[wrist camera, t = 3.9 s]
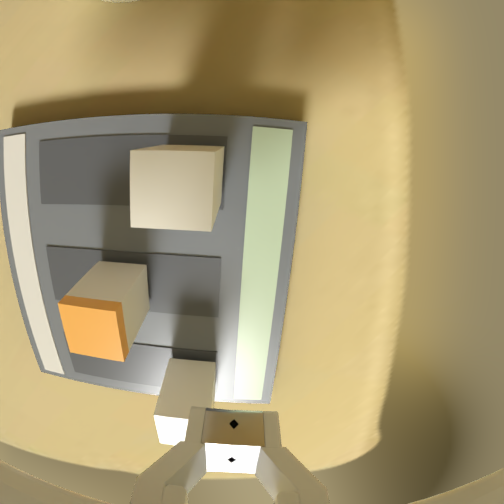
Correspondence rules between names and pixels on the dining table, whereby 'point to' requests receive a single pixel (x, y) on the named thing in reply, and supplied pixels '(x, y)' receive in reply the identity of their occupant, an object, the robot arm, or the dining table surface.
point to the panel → (156, 244)
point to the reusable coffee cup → (119, 1)
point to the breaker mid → (106, 310)
